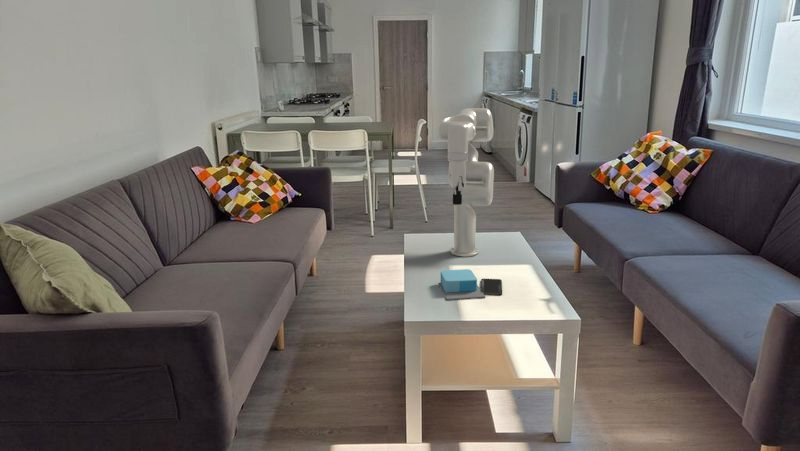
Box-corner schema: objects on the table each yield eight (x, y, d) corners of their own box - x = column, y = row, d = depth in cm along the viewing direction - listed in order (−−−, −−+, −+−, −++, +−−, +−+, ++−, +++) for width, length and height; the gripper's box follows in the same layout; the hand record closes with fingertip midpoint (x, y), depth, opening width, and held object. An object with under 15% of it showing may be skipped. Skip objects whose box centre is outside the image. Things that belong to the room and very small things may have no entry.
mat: (438, 284, 208) (438, 282, 208) (474, 282, 210) (474, 280, 210) (446, 300, 193) (446, 298, 193) (485, 298, 195) (485, 296, 195)
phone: (480, 292, 198) (481, 278, 212) (480, 295, 198) (481, 281, 212) (502, 293, 196) (501, 279, 211) (502, 296, 197) (501, 282, 211)
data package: (439, 281, 210) (445, 293, 198) (439, 270, 209) (445, 281, 197) (470, 279, 211) (477, 291, 199) (470, 268, 210) (478, 279, 198)
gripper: (444, 154, 213) (443, 200, 217) (452, 159, 198) (451, 208, 203) (462, 154, 214) (462, 199, 218) (472, 159, 199) (471, 208, 204)
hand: (457, 204), depth 211 cm, fingers closed
